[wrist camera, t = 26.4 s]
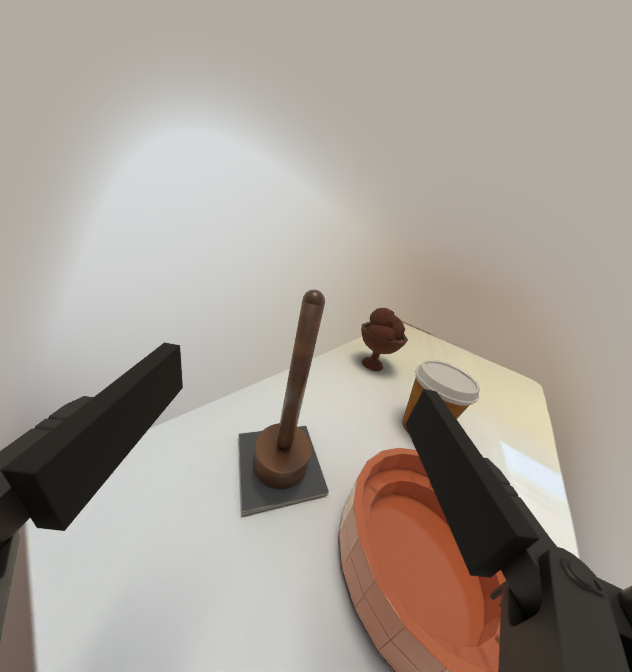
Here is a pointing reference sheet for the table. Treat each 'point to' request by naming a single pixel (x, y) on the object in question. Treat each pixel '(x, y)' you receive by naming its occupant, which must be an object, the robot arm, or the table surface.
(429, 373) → the disposable coffee cup
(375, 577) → the terracotta round bowl
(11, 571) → the robot arm
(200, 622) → the table surface
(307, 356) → the paper towel holder
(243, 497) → the dark grey square tile
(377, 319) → the ice cream bowl
